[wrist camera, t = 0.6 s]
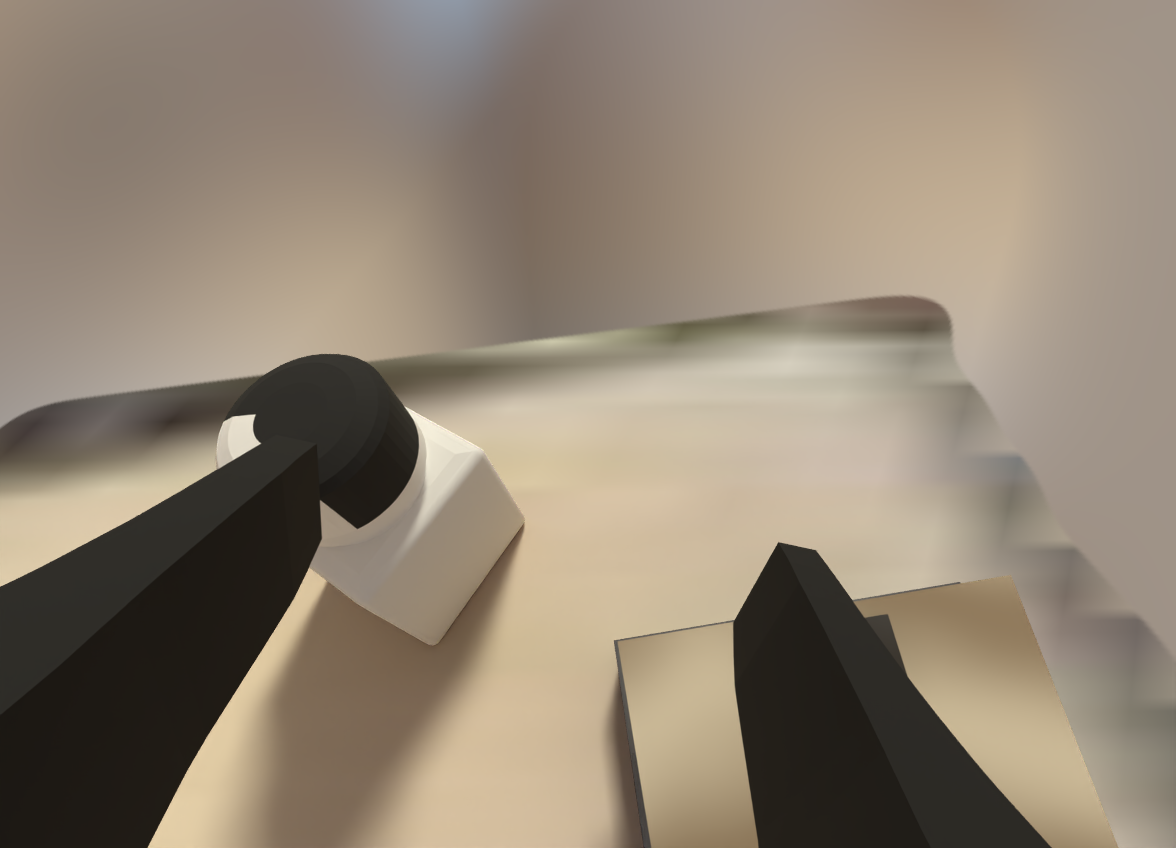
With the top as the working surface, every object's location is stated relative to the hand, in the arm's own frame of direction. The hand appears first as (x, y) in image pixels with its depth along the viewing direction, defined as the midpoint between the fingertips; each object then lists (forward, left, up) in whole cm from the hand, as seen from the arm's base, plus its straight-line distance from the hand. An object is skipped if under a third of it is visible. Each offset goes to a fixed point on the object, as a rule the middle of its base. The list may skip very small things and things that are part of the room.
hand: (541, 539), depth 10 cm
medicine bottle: (+8, +9, -18) cm, 22 cm away
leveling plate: (-6, -6, -13) cm, 16 cm away
